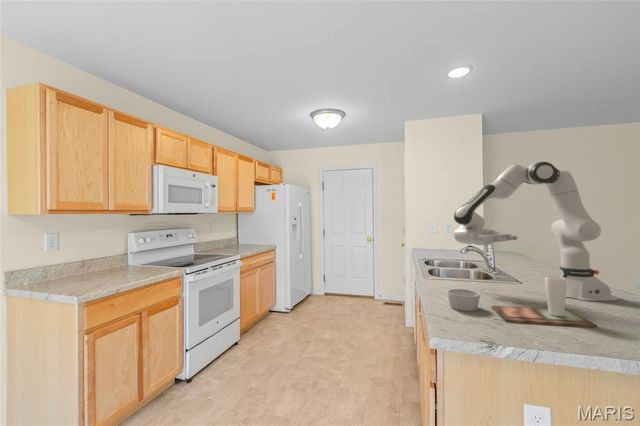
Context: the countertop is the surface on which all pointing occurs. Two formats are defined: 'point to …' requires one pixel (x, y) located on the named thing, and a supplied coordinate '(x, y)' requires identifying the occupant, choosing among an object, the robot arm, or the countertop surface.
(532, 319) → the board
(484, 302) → the countertop surface
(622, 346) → the countertop surface
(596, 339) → the countertop surface
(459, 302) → the ramekin
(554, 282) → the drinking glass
